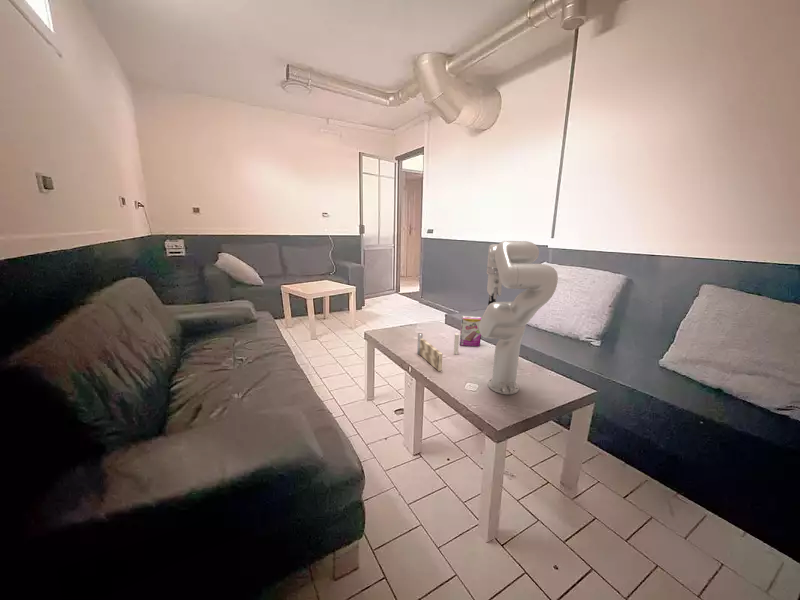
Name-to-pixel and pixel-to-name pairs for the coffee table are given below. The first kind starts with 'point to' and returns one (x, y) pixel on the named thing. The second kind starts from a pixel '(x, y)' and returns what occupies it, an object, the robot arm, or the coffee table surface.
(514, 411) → the coffee table surface
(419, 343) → the hinge post
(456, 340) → the post
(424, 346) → the gate
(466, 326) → the candy bar box
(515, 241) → the robot arm
